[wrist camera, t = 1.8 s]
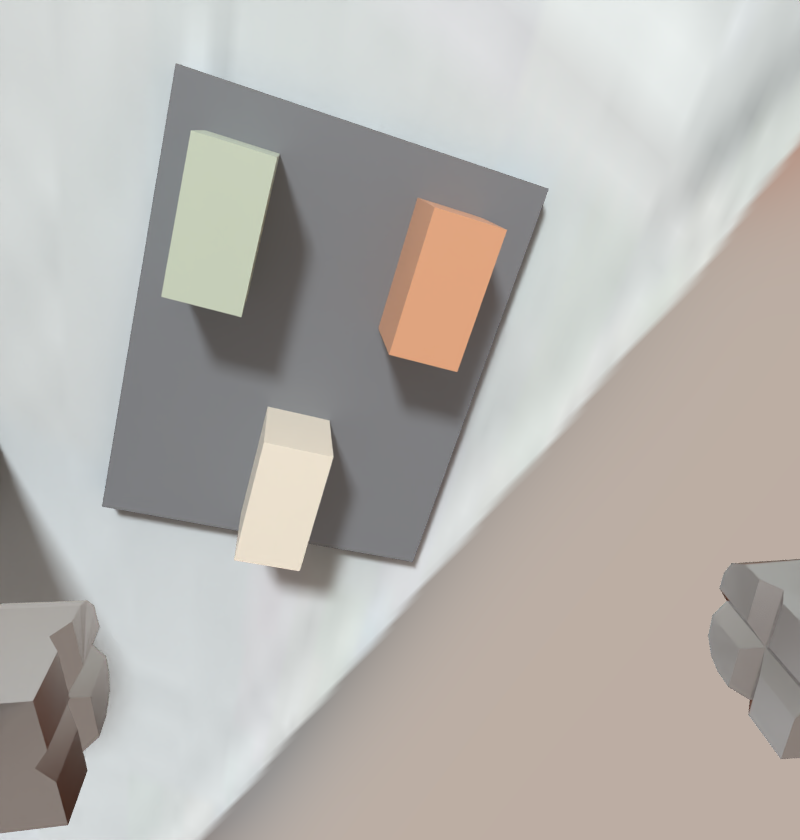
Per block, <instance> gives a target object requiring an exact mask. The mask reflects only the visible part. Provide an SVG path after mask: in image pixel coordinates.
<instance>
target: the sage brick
mask: <svg viewBox="0 0 800 840" xmlns="http://www.w3.org/2000/svg"><path fill="white" fill-rule="evenodd" d="M279 155H280V154H279V153H276V152H273V151H269V150H266V149H263V148H260V147H257V146H254V145H250V144H247V143H244V142H241V141H238V140H235V139H232V138H228V137H225V136H222V135H219V134H216V133H213V132H209V131H206V130H191V133H190V138H189V144H188V150H187V155H186V161H185V166H184V172H183V177H182V183H181V189H180V194H179V200H178V205H177V211H176V217H175V222H174V228H173V233H172V239H171V244H170V250H169V256H168V261H167V267H166V272H165V278H164V284H163V289H162V295H161V297H164V298H168V299H172V300H176V301H180V302H184V303H188V304H192V305H196V306H200V307H203V308H207V309H211V310H215V311H219V312H223V313H227V314H231V315H235V316H239V317H242V313H243V310H244V307H245V303H246V300H247V296H248V293H249V288H250V284H251V280H252V275H253V271H254V266H255V262H256V257H257V253H258V248H259V244H260V240H261V235H262V231H263V226H264V222H265V217H266V213H267V208H268V204H269V200H270V195H271V191H272V186H273V182H274V177H275V173H276V168H277V164H278V160H279Z"/></svg>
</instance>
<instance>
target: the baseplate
mask: <svg viewBox="0 0 800 840" xmlns="http://www.w3.org/2000/svg"><path fill="white" fill-rule="evenodd" d="M191 130H206V131H209V132H213V133H216V134H219V135H222V136H225V137H228V138H232V139H235V140H238V141H241V142H244V143H247V144H250V145H254V146H257V147H260V148H263V149H266V150H269V151H273V152H276V153H279V154H280V155H279V160H278V164H277V168H276V173H275V177H274V182H273V186H272V191H271V195H270V200H269V204H268V208H267V213H266V217H265V222H264V226H263V231H262V235H261V240H260V244H259V248H258V253H257V257H256V262H255V266H254V271H253V275H252V280H251V284H250V288H249V293H248V296H247V300H246V303H245V307H244V310H243V313H242V317H239V316H235V315H231V314H227V313H223V312H219V311H215V310H211V309H207V308H203V307H200V306H196V305H192V304H188V303H184V302H180V301H176V300H172V299H168V298H164V297H161V295H162V289H163V284H164V278H165V272H166V267H167V261H168V256H169V250H170V244H171V239H172V233H173V228H174V222H175V217H176V211H177V205H178V200H179V194H180V189H181V183H182V177H183V172H184V166H185V161H186V155H187V150H188V144H189V138H190V133H191ZM547 192H548V188H545V187H542V186H539V185H536V184H533V183H530V182H527V181H524V180H521V179H518V178H515V177H512V176H509V175H506V174H503V173H500V172H497V171H494V170H491V169H488V168H485V167H482V166H479V165H476V164H473V163H470V162H467V161H464V160H461V159H458V158H455V157H452V156H450V155H447V154H444V153H441V152H438V151H435V150H432V149H429V148H426V147H423V146H420V145H417V144H414V143H411V142H408V141H405V140H402V139H399V138H396V137H393V136H390V135H387V134H384V133H381V132H378V131H375V130H372V129H369V128H366V127H363V126H360V125H357V124H354V123H351V122H349V121H346V120H343V119H340V118H337V117H334V116H331V115H328V114H325V113H322V112H319V111H316V110H313V109H310V108H307V107H304V106H301V105H298V104H295V103H292V102H289V101H286V100H283V99H280V98H277V97H274V96H271V95H268V94H265V93H262V92H259V91H256V90H253V89H251V88H248V87H245V86H242V85H239V84H236V83H233V82H230V81H227V80H224V79H221V78H218V77H215V76H212V75H209V74H206V73H203V72H200V71H197V70H194V69H191V68H188V67H185V66H182V65H179V64H176V65H175V71H174V77H173V83H172V89H171V95H170V101H169V107H168V113H167V119H166V125H165V131H164V137H163V143H162V149H161V155H160V161H159V167H158V173H157V179H156V185H155V191H154V197H153V203H152V209H151V215H150V221H149V227H148V233H147V239H146V245H145V252H144V258H143V264H142V270H141V276H140V282H139V288H138V294H137V300H136V306H135V312H134V318H133V324H132V330H131V336H130V342H129V348H128V354H127V360H126V366H125V372H124V378H123V384H122V390H121V396H120V402H119V408H118V414H117V420H116V426H115V432H114V438H113V444H112V450H111V456H110V462H109V468H108V474H107V480H106V486H105V492H104V498H103V504H102V507H108V508H113V509H119V510H125V511H130V512H136V513H141V514H147V515H153V516H158V517H164V518H169V519H175V520H181V521H186V522H192V523H197V524H203V525H209V526H214V527H220V528H225V529H231V530H237V531H238V530H239V523H240V516H241V511H242V507H243V503H244V499H245V495H246V491H247V487H248V483H249V479H250V475H251V471H252V467H253V463H254V459H255V455H256V452H257V448H258V444H259V440H260V436H261V432H262V428H263V424H264V420H265V416H266V412H267V408H268V407H272V408H277V409H281V410H286V411H290V412H294V413H299V414H303V415H308V416H312V417H317V418H321V419H326V420H329V421H330V430H331V439H332V448H333V460H332V464H331V467H330V470H329V474H328V477H327V481H326V484H325V487H324V491H323V494H322V497H321V501H320V504H319V508H318V511H317V514H316V518H315V521H314V525H313V528H312V531H311V535H310V538H309V541H308V543H309V544H315V545H321V546H326V547H332V548H337V549H343V550H349V551H354V552H360V553H365V554H371V555H377V556H382V557H388V558H393V559H399V560H405V561H410V562H413V560H414V557H415V555H416V552H417V549H418V546H419V544H420V541H421V538H422V535H423V533H424V530H425V527H426V524H427V522H428V519H429V516H430V513H431V511H432V508H433V505H434V502H435V500H436V497H437V494H438V491H439V489H440V486H441V483H442V480H443V478H444V475H445V472H446V469H447V467H448V464H449V461H450V458H451V456H452V453H453V450H454V447H455V445H456V442H457V439H458V436H459V434H460V431H461V428H462V426H463V423H464V420H465V417H466V415H467V412H468V409H469V406H470V404H471V401H472V398H473V395H474V393H475V390H476V387H477V384H478V382H479V379H480V376H481V373H482V371H483V368H484V365H485V362H486V360H487V357H488V354H489V351H490V349H491V346H492V343H493V340H494V338H495V335H496V332H497V329H498V327H499V324H500V321H501V318H502V316H503V313H504V310H505V307H506V305H507V302H508V299H509V296H510V294H511V291H512V288H513V286H514V283H515V280H516V277H517V275H518V272H519V269H520V266H521V264H522V261H523V258H524V255H525V253H526V250H527V247H528V244H529V242H530V239H531V236H532V233H533V231H534V228H535V225H536V222H537V220H538V217H539V214H540V211H541V209H542V206H543V203H544V200H545V198H546V195H547ZM417 198H421V199H424V200H427V201H430V202H434V203H437V204H440V205H443V206H446V207H449V208H453V209H456V210H459V211H462V212H465V213H468V214H471V215H475V216H478V217H481V218H483V219H485V220H487V221H489V222H492V223H494V224H496V225H498V226H500V227H502V228H504V229H506V230H507V232H506V235H505V237H504V240H503V243H502V246H501V249H500V252H499V255H498V257H497V260H496V263H495V266H494V269H493V272H492V274H491V277H490V280H489V283H488V286H487V289H486V292H485V294H484V297H483V300H482V303H481V306H480V309H479V312H478V314H477V317H476V320H475V323H474V326H473V329H472V332H471V334H470V337H469V340H468V343H467V346H466V349H465V352H464V354H463V357H462V360H461V363H460V366H459V369H458V371H457V372H455V371H451V370H447V369H443V368H439V367H435V366H431V365H427V364H423V363H420V362H416V361H412V360H408V359H404V358H400V357H396V356H392V355H389V353H388V351H387V348H386V346H385V344H384V341H383V339H382V336H381V334H380V331H379V329H378V328H379V324H380V321H381V318H382V314H383V311H384V308H385V304H386V301H387V298H388V294H389V291H390V288H391V284H392V281H393V278H394V274H395V271H396V268H397V264H398V261H399V258H400V254H401V251H402V248H403V244H404V241H405V238H406V234H407V231H408V228H409V224H410V221H411V218H412V214H413V211H414V208H415V204H416V201H417Z"/></svg>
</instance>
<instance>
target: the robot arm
mask: <svg viewBox="0 0 800 840" xmlns="http://www.w3.org/2000/svg"><path fill="white" fill-rule="evenodd" d="M720 590H721V592H722V594H723V595H724V597H725V599H726V600H727V601H726V602H725V603H724V604H723V605H722V606H721V607H720V608H719V609H718V610H717V611H716V612H715V613H714V614H713V615H712V620H711V625H710V630H709V634H708V637H709V644H710V650H711V656H712V659H713V661H714V664H715V666H716V668H717V671H718V672H719V674H720V675H721V677H722V678H723V680H724V681H725V682H726V684H727V686H728V687H730V688H731V689H733V690H734V691H736V692H738V693H739V694H741V695H743V696H744V697H746V698H748V699H749V700H750V702H749V716H750V717H751V719H752V720H753V722H754V723H755V724H756V726H757V727H758V728H759V730H760V731H761V733H762V734H763V735H764V737H765V738H766V739H767V741H768V742H769V743H770V745H771V746H772V747H773V749H774V750H775V752H776V753H777V754H778V756H779V757H780V759H788V758H800V559H793V560H778V561H762V562H745V563H731V565H730V566H729V567H728V568H727V570H726V571H725V572H724V575H723V578H722V582H721V585H720ZM98 630H99V623H98V619H97V615H96V611H95V607H94V605H93V604H91V603H90V602H89V601H87V600H83V601H55V602H28V603H2V604H0V833H6V832H14V831H23V830H31V829H39V828H48V827H56V826H64V825H68V823H69V821H70V818H71V815H72V812H73V809H74V807H75V804H76V801H77V798H78V795H79V793H80V790H81V787H82V784H83V781H84V779H85V776H86V773H87V767H86V762H85V758H84V754H83V751H84V750H85V749H86V748H87V747H88V746H90V745H91V744H92V743H93V742H94V741H95V740H96V739H97V738H99V736H100V733H101V730H102V727H103V724H104V721H105V718H106V713H107V706H108V699H109V692H110V687H109V670H108V665H107V660H106V656H105V655H104V654H103V653H102V652H101V651H99V650H98V649H97V648H96V647H95V646H93V645H92V644H93V642H94V640H95V637H96V635H97V632H98Z"/></svg>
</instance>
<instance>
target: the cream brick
mask: <svg viewBox="0 0 800 840" xmlns="http://www.w3.org/2000/svg"><path fill="white" fill-rule="evenodd" d="M332 460H333V448H332V439H331V430H330V421H329V420H326V419H321V418H317V417H312V416H308V415H303V414H299V413H294V412H290V411H286V410H281V409H277V408H272V407H268V408H267V412H266V416H265V420H264V424H263V428H262V432H261V436H260V440H259V444H258V448H257V452H256V455H255V459H254V463H253V467H252V471H251V475H250V479H249V483H248V487H247V491H246V495H245V499H244V503H243V507H242V511H241V516H240V523H239V530H238V537H237V544H236V550H235V557H234V560H236V561H242V562H248V563H254V564H260V565H265V566H271V567H277V568H283V569H289V570H295V571H300V568H301V565H302V562H303V558H304V555H305V552H306V548H307V545H308V541H309V538H310V535H311V531H312V528H313V525H314V521H315V518H316V514H317V511H318V508H319V504H320V501H321V497H322V494H323V491H324V487H325V484H326V481H327V477H328V474H329V470H330V467H331V464H332Z"/></svg>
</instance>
